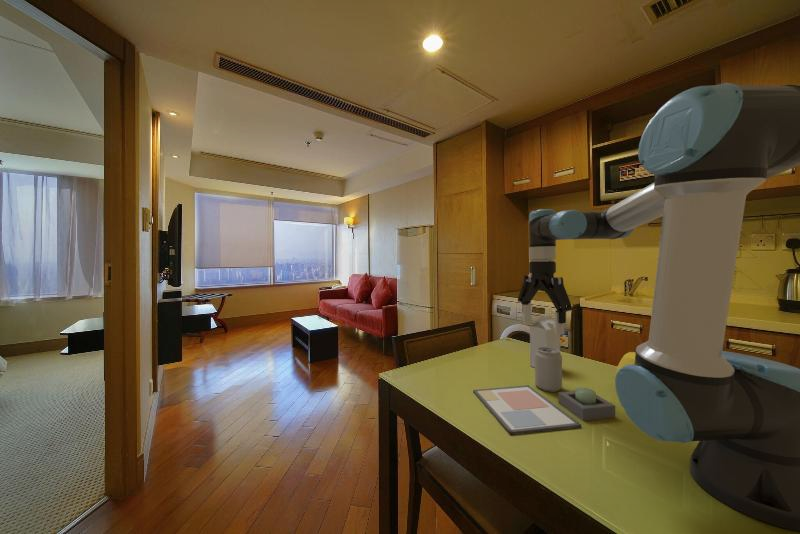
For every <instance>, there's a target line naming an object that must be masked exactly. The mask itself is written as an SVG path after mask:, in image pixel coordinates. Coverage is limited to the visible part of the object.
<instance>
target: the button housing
mask: <svg viewBox="0 0 800 534" xmlns="http://www.w3.org/2000/svg"><path fill="white" fill-rule="evenodd" d="M557 392H558V400H557V401H558V404H559V405H561V406H562V407H563V408H564V409H566V410H567V411H568V412H570V413H571V414H572V415H575V416H576V418H578V419H580V420H581V421H583V422H584V421H585V422H586V421H592V420H604V419H605V420H606V419H613V418H616V405H615V404H613V403H612V402H610V401H608V400H606V399H604V397H601V396H599V395H597V394H596V404H593V405H583V404H581V403H579V402H578V401H576V400H575V390H573V391H572V390H571V391H560V392H559V391H557Z"/></svg>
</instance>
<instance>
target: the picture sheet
mask: <svg viewBox="0 0 800 534" xmlns="http://www.w3.org/2000/svg"><path fill="white" fill-rule="evenodd" d="M472 390H473V394H474V395H475V396H476V397H477V398H478V400H479V401H480V402H481V403H482V404H483V406H484V407H485V408H486V409H487V410H488V411H489V412H490V413H491V415H492V416H493V417H494V418H495V420H496V421H498V423H499V424H500V425H501V427H503V429H504V430H505V431H506V432H507V433H508V434H509V436H512V435H513V436H514V435H525V434H532V433H542V432H552V431H561V430H562V431H563V430H571V429H578V428H579V429H580V428H582V424H581V423H580V422H579V421H577V420H576V419H574V418H573V417H571V416H570V415H569V414H568V413H566V412H565V411H564V410H562V409H561V408H559V407H558V406H557V405H556V404H554V403H553V402H552V401H550V400H549V399H547V398H546V397H545V396H544V395H542V394H541V393H539V391H537V390H536V389H534V388H533V387H532V386H530V385H527V384H525V385H517V386H516V385H515V386H503V387H494V388H493V387H492V388H491V387H490V388H480V389H472Z"/></svg>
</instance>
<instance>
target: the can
mask: <svg viewBox="0 0 800 534" xmlns="http://www.w3.org/2000/svg"><path fill="white" fill-rule="evenodd" d="M537 350H538V351H536V352H535V368H534V384H535V385H536V387H538V388H539V389H540V390H542V391H545V392H549V393H550V392H552V393H556V392H559V391H560V390H561V389H562V388H563V355H561V350H560V351H559V350H558V349H555V348H551V347H539V348H537ZM559 352H560V353H559Z"/></svg>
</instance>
